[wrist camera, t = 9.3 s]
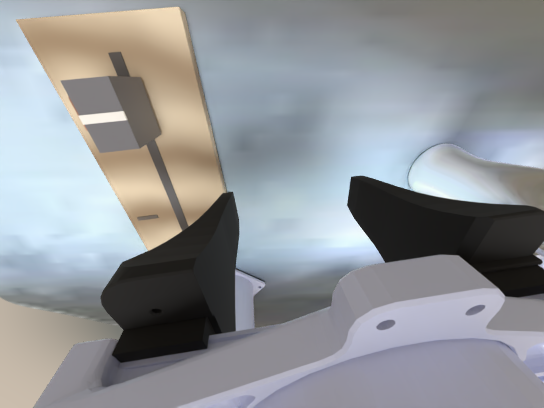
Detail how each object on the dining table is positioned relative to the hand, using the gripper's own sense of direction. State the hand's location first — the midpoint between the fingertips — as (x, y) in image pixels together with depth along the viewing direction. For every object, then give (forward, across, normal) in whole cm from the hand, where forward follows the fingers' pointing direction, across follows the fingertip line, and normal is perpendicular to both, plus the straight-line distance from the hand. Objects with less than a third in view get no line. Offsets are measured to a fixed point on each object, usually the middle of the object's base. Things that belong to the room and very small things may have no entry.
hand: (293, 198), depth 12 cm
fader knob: (+7, +11, -5) cm, 14 cm away
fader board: (+9, +11, -1) cm, 14 cm away
